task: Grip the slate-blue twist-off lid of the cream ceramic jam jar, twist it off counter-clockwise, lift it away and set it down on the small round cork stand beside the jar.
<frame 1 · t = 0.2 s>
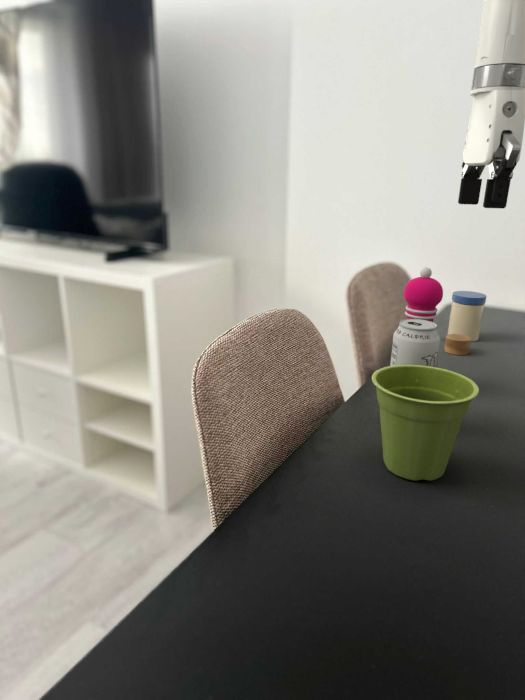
hand: (480, 206, 80), 29 cm above the table, tool pointing down, fingers open, 9 cm apart
energy drink can: (405, 425, 73), on the table
plant pot: (412, 467, 63), on the table
jar lid: (469, 296, 111), point 9 cm above the table, screwed on, not yet turned
jar: (462, 337, 114), on the table
cork stand: (456, 351, 104), on the table
pepper mill: (411, 385, 87), on the table
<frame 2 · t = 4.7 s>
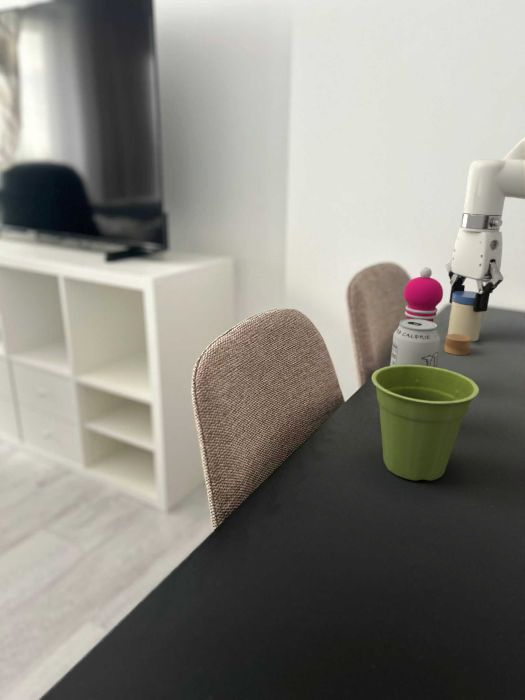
hand: (467, 306, 112), 7 cm above the table, tool pointing down, fingers closed on jar lid, 6 cm apart
jar lid: (469, 296, 111), point 9 cm above the table, screwed on, not yet turned, touching gripper
everything else where it was.
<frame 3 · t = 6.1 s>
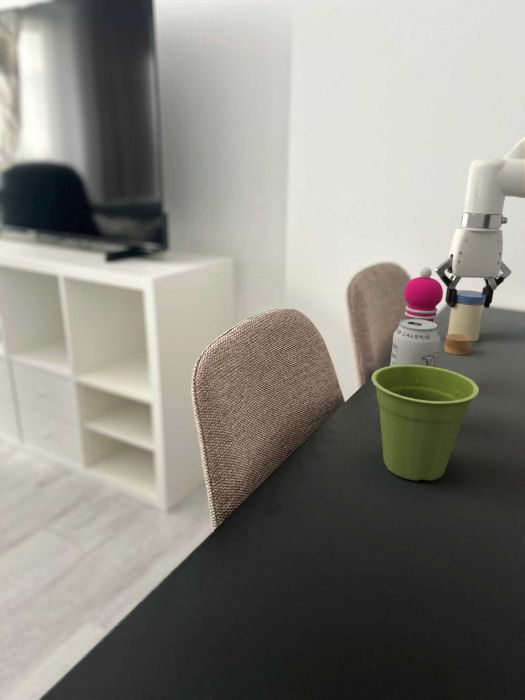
hand: (467, 305, 112), 7 cm above the table, tool pointing down, fingers closed on jar lid, 6 cm apart
jar lid: (469, 295, 111), point 9 cm above the table, turned 71° so far, risen 0.2 cm, still on its thread, touching gripper
everything else where it was.
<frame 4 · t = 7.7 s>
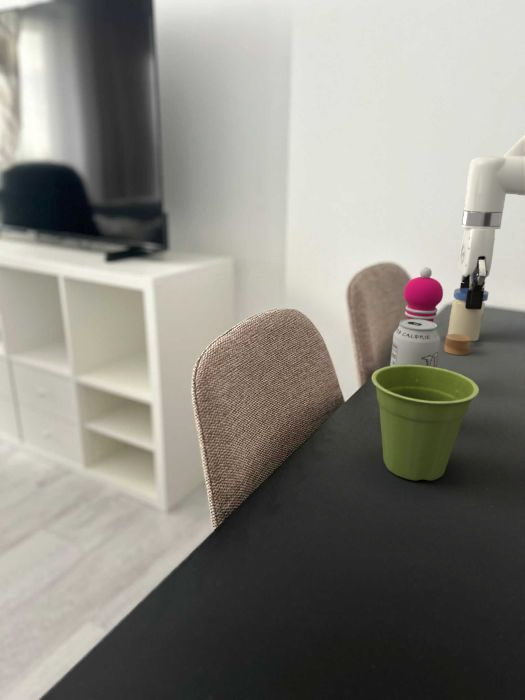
hand: (469, 303, 111), 8 cm above the table, tool pointing down, fingers closed on jar lid, 6 cm apart
jar lid: (471, 293, 111), point 10 cm above the table, off its thread, touching gripper
jar: (462, 336, 114), on the table, touching gripper
everything else where it was.
when the fingers open (1 cm above the table, at t = 13.5 s): jar lid stays where it is, resting on cork stand.
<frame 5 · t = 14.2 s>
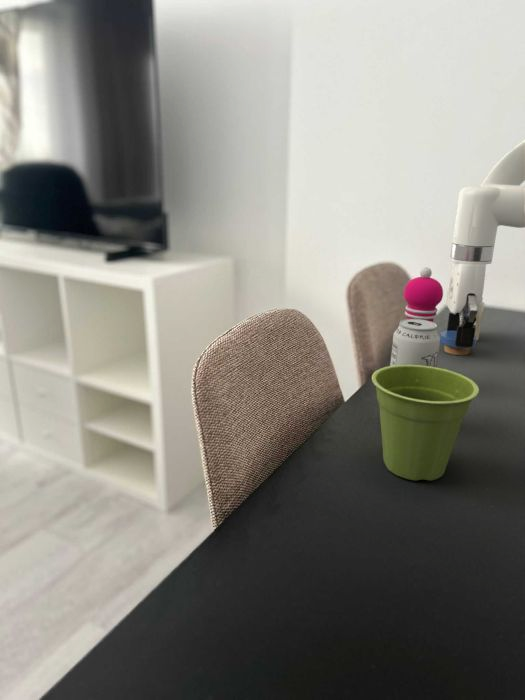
hand: (458, 338, 104), 3 cm above the table, tool pointing down, fingers open, 9 cm apart
jar lid: (457, 337, 103), point 3 cm above the table, off its thread, touching cork stand
jar: (462, 336, 114), on the table
everything else where it was.
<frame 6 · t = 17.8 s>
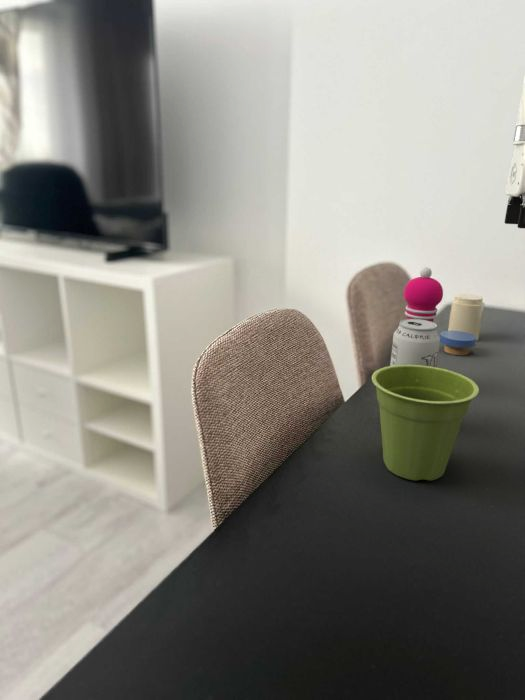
hand: (518, 226, 106), 24 cm above the table, tool pointing down, fingers open, 9 cm apart
nothing on the table moved.
at the end: jar lid came off its thread; jar lid 0.1 cm from the cork stand (horizontally); the gripper is holding nothing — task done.
